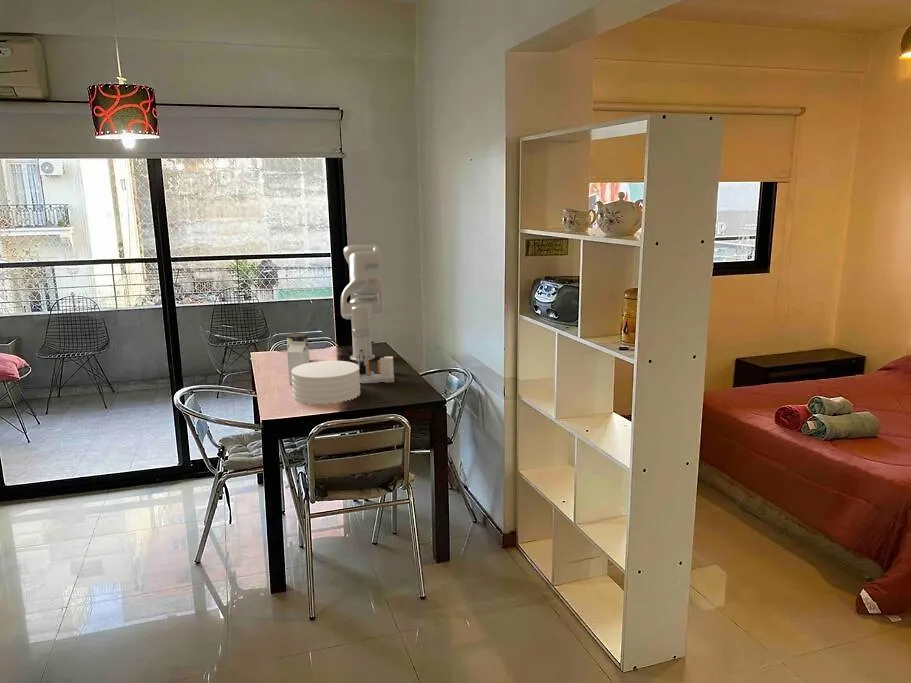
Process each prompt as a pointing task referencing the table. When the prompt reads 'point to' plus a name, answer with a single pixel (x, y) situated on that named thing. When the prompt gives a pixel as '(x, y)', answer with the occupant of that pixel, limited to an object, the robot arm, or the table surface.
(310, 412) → the table surface
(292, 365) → the milk carton
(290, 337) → the coffee can
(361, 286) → the robot arm
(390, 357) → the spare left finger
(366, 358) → the right finger
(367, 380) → the rail
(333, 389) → the plate stack
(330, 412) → the table surface
